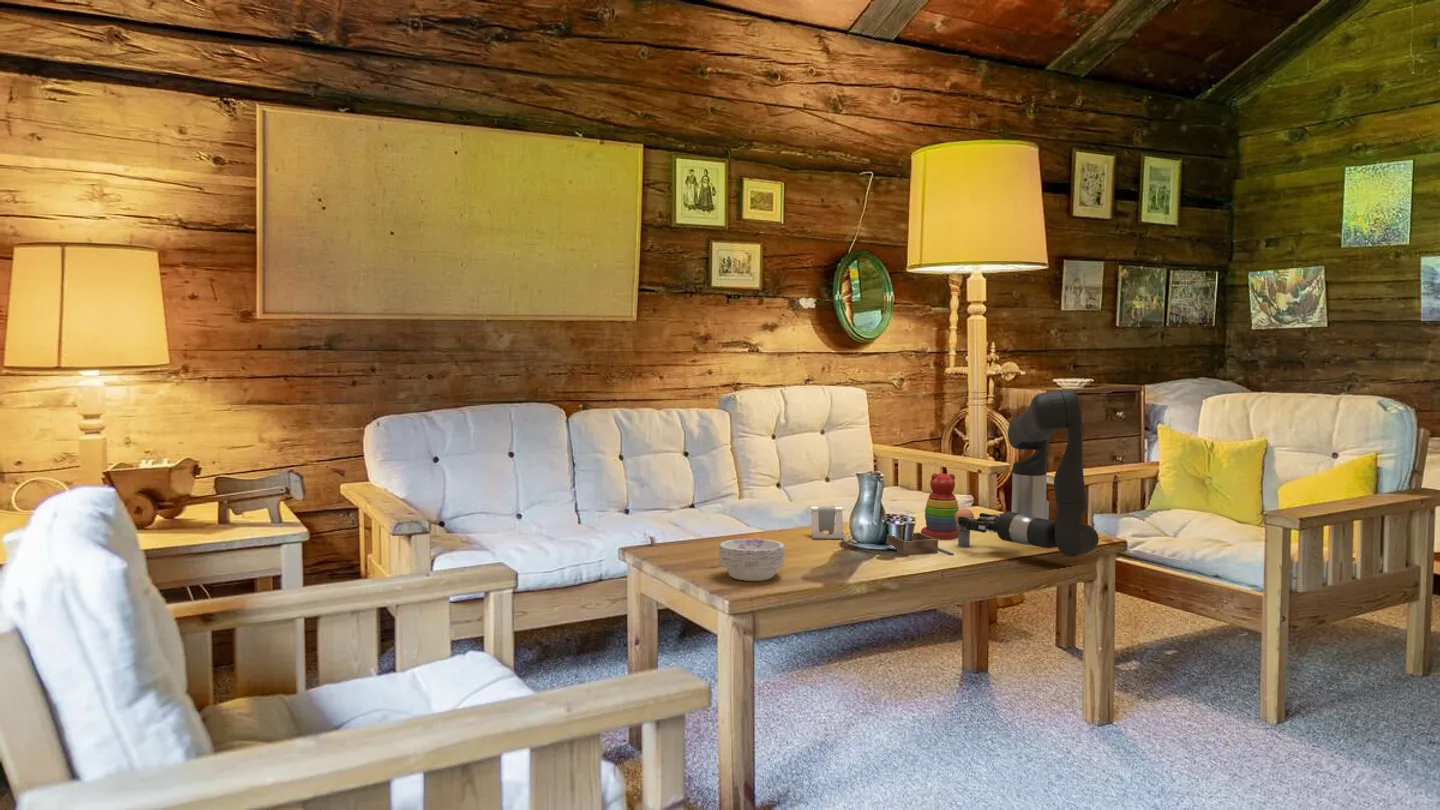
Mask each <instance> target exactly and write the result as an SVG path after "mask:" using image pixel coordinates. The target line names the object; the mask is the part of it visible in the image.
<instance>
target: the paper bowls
mask: <svg viewBox="0 0 1440 810" xmlns="http://www.w3.org/2000/svg"><path fill="white" fill-rule="evenodd" d="M785 550H786V548H785V544H784V543H783V542H780V541H778V540H772V539H764V538H737V539H736V538H735V539H730V540H724V541H722V542H720V543H719V553H718V555H719V557H718V558H719V562H718V563H719V565H720V567H723V568H726V569H727V573H728V574H729V576H730V577H731V578H733V579H735V580H737V581H738V580H739V581H743V580H744V581H743V582H763V581H767V580H770V579H772V578H773V577H774V576H775V575H776V573H777V570H778V569H780V568H783V567H784V566H785Z"/></svg>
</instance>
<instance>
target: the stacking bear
mask: <svg viewBox="0 0 1440 810" xmlns="http://www.w3.org/2000/svg"><path fill="white" fill-rule="evenodd" d="M930 478H931V479H930V484H929V485H930V489H931V491H932V492H931V493H930V494H928V498H927V501H926V504H925V508H924V518H925V519H924V520H925V524H926V526H924V527H922V528H921V529H920V533H922V534H925V535H927V536H930V537H933V538H935V539H938V540H945V541H946V540H955V539H958V529H956V525H958V524H957V523H956V521H955V514H956V512H957V511H958V510H959V509H960V507H959V503H958V499H956V495H954V494H953V492H954V490H955V488H956V487H955V486H956V482H955V481H956V480H955V479H956V475H955V474H953V473H950V474H949V473H948V474H947V473H943V472H942V473H932V475H931V477H930Z"/></svg>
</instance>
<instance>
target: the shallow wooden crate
mask: <svg viewBox="0 0 1440 810" xmlns="http://www.w3.org/2000/svg"><path fill="white" fill-rule="evenodd" d="M912 533H913V536H912V540H913V541H905V540H902V539H900V538H897V537H895V536H892V535H889V534H886V545H887V544H888V545H892V546H894V547H895V548H896V549H897V552H896V553H898V554H900V555H903V556H913V555H915V556H917V555H926V554H928V555H929V554H938V552H939V551H938V548H939V539H935V538H933V537H930V536H927V535H925V534H922V533H921V532H919V531H918V532H912Z"/></svg>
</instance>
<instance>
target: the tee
mask: <svg viewBox="0 0 1440 810" xmlns="http://www.w3.org/2000/svg"><path fill="white" fill-rule="evenodd" d="M956 529H958V538H957V546H958V547H961V548H969V547H970V546H971V545H970V542H971V530H967V529H966V527H962V526H960V525H958V524H957V525H956Z"/></svg>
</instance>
